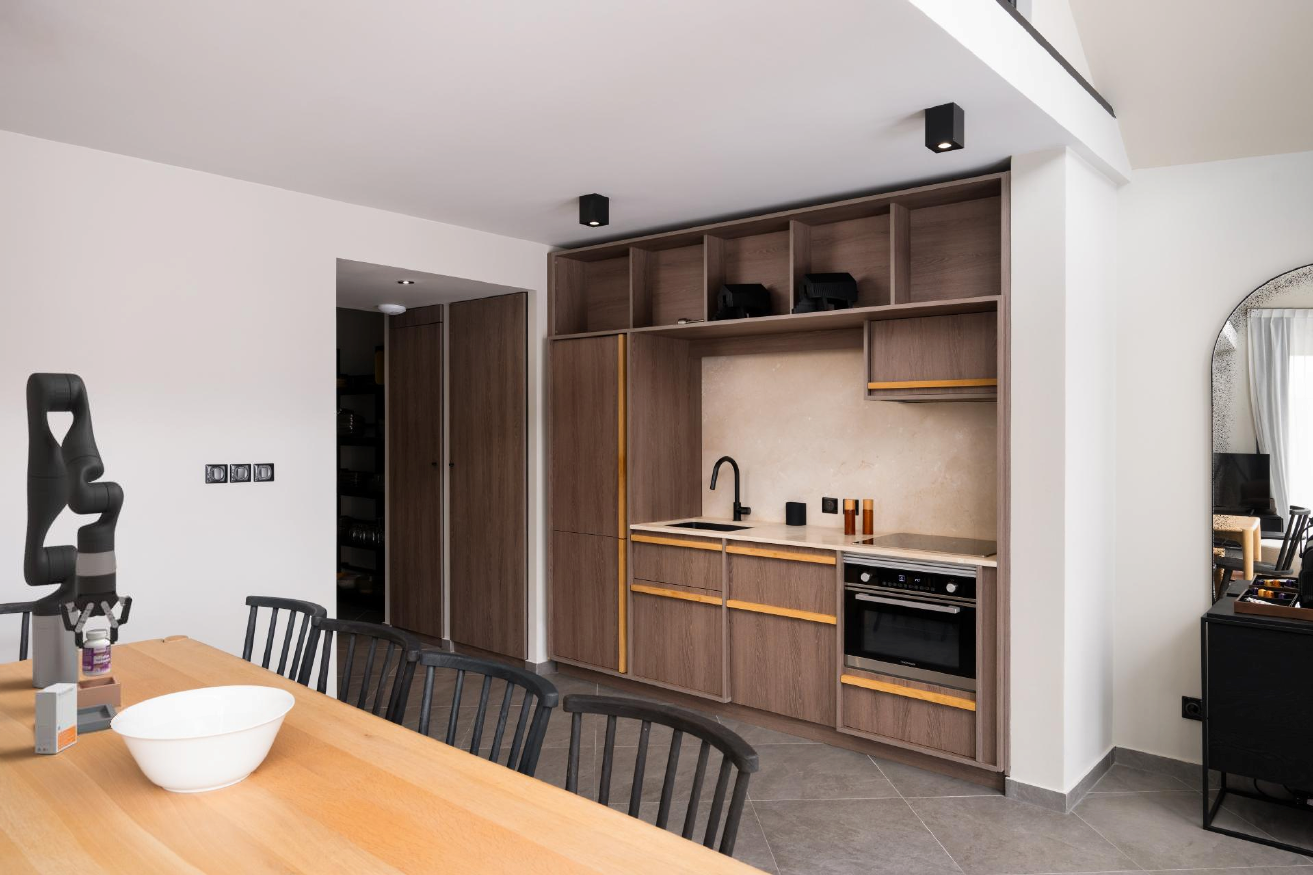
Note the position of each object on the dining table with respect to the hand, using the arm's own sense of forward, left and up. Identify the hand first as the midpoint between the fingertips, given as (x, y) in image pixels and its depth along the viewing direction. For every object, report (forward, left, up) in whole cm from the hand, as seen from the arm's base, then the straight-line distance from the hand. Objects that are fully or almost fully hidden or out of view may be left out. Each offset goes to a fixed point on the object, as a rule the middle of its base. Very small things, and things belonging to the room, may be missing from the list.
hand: (96, 645), depth 192 cm
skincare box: (+25, -9, -14) cm, 30 cm away
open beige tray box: (0, 0, -13) cm, 13 cm away
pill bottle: (0, 0, -7) cm, 7 cm away
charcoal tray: (+13, -4, -13) cm, 19 cm away
